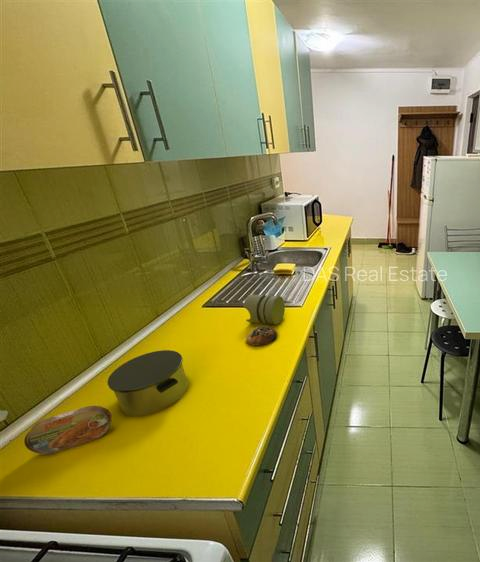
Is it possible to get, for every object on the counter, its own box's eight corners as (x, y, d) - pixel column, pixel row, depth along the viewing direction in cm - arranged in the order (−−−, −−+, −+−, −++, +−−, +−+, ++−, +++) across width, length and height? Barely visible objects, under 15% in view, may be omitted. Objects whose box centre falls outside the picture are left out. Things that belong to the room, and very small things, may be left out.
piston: (260, 313, 132) (255, 290, 127) (286, 315, 130) (282, 291, 125) (246, 327, 121) (240, 302, 117) (274, 329, 119) (269, 304, 115)
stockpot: (105, 402, 85) (92, 376, 81) (167, 367, 99) (158, 343, 95) (143, 429, 77) (130, 400, 73) (205, 386, 90) (197, 361, 87)
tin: (33, 460, 69) (15, 433, 66) (39, 449, 72) (22, 422, 69) (115, 433, 76) (102, 407, 72) (118, 424, 78) (106, 399, 75)
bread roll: (275, 344, 109) (271, 332, 108) (244, 351, 109) (240, 339, 107) (279, 329, 120) (276, 318, 118) (251, 335, 119) (247, 324, 117)
